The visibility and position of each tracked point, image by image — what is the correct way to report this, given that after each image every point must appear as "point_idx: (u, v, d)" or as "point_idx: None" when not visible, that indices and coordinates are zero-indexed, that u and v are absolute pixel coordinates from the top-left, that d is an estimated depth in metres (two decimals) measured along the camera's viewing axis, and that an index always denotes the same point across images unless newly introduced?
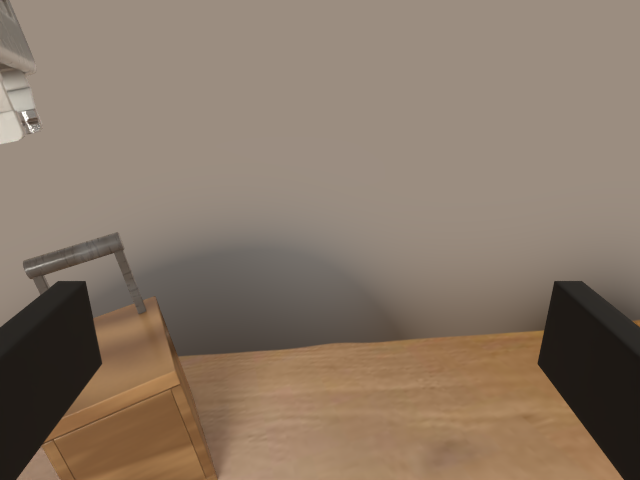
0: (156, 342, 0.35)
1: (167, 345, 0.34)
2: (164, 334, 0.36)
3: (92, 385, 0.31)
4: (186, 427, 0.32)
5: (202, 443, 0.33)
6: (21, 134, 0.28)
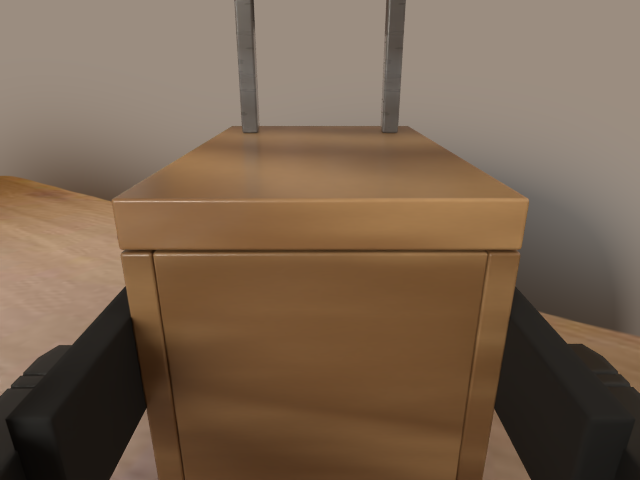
0: (438, 157, 0.14)
1: (471, 165, 0.13)
2: (452, 154, 0.15)
3: (283, 174, 0.12)
4: (471, 384, 0.11)
5: (485, 444, 0.12)
6: None
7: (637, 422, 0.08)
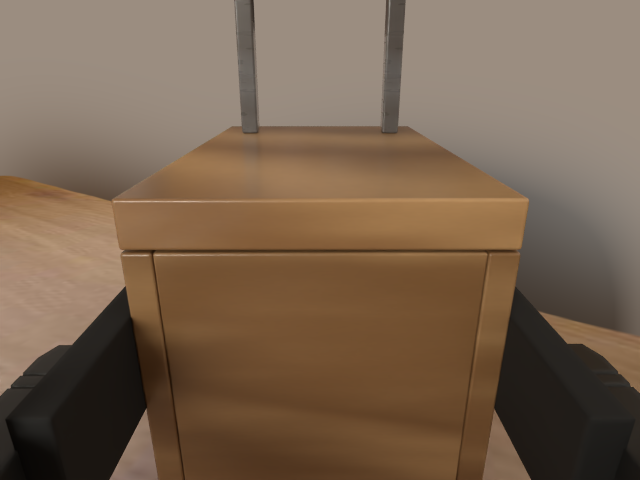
0: (438, 158, 0.14)
1: (470, 165, 0.13)
2: (452, 154, 0.15)
3: (283, 174, 0.12)
4: (471, 384, 0.11)
5: (485, 444, 0.12)
6: None
7: (637, 422, 0.08)
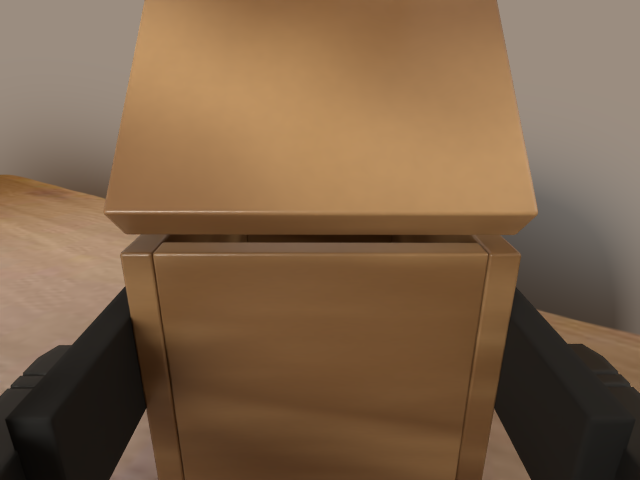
0: (473, 32, 0.11)
1: (507, 69, 0.10)
2: (496, 9, 0.11)
3: (278, 115, 0.10)
4: (471, 384, 0.11)
5: (485, 444, 0.12)
6: None
7: (636, 422, 0.08)
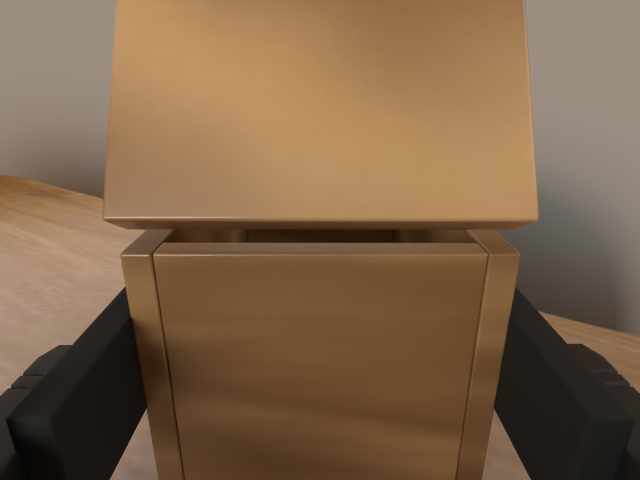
0: (491, 0, 0.10)
1: (525, 49, 0.10)
2: None
3: (275, 107, 0.09)
4: (471, 384, 0.11)
5: (485, 444, 0.12)
6: None
7: (636, 421, 0.08)
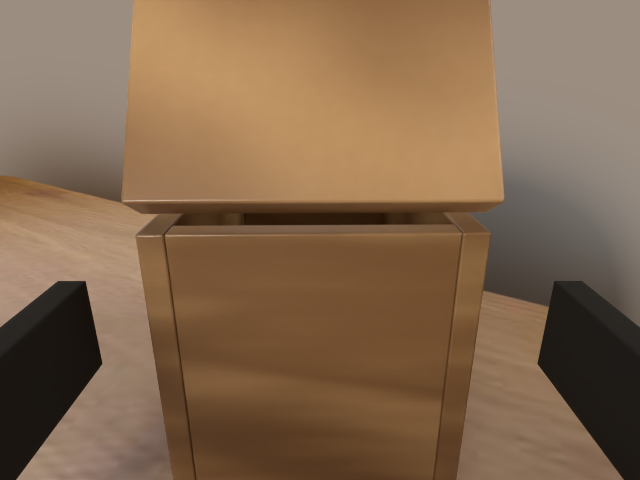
0: (461, 11, 0.11)
1: (491, 53, 0.11)
2: None
3: (273, 104, 0.11)
4: (450, 352, 0.12)
5: (464, 408, 0.13)
6: None
7: None
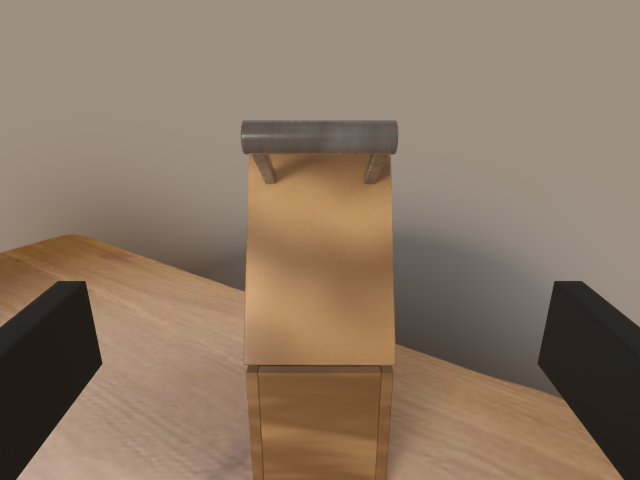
0: (381, 282, 0.27)
1: (392, 301, 0.27)
2: (392, 269, 0.27)
3: (303, 323, 0.27)
4: (379, 419, 0.28)
5: (387, 443, 0.29)
6: None
7: None
